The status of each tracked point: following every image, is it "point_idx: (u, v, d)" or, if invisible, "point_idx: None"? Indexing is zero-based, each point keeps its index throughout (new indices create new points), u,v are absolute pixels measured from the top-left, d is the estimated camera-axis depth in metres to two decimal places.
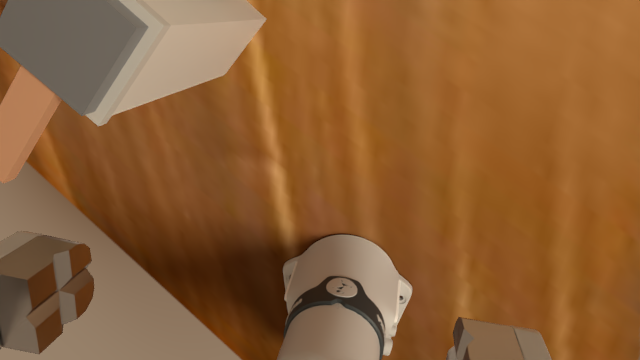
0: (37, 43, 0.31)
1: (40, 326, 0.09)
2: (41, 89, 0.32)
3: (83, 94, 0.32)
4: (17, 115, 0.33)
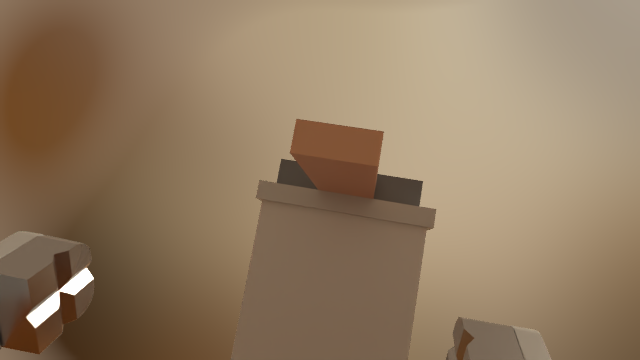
0: None
1: (40, 326, 0.09)
2: None
3: None
4: None
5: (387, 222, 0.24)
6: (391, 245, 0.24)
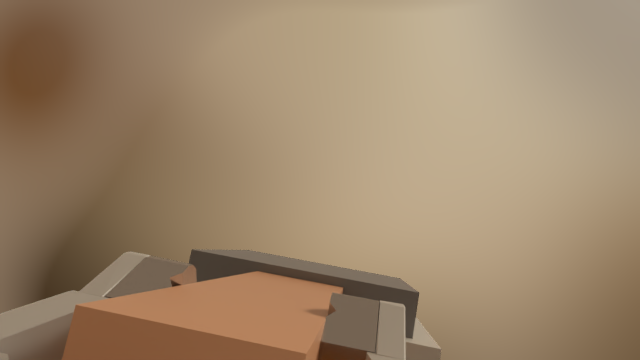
0: (283, 263, 0.18)
1: None
2: (313, 283, 0.15)
3: (395, 285, 0.16)
4: (277, 287, 0.12)
5: None
6: None
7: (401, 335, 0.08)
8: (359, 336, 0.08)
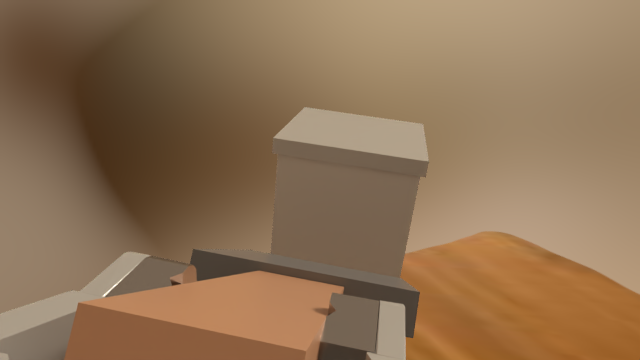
0: (284, 262, 0.18)
1: None
2: (314, 282, 0.15)
3: (396, 285, 0.16)
4: (278, 286, 0.12)
5: (386, 170, 0.28)
6: (390, 189, 0.28)
7: (401, 335, 0.08)
8: (359, 336, 0.08)
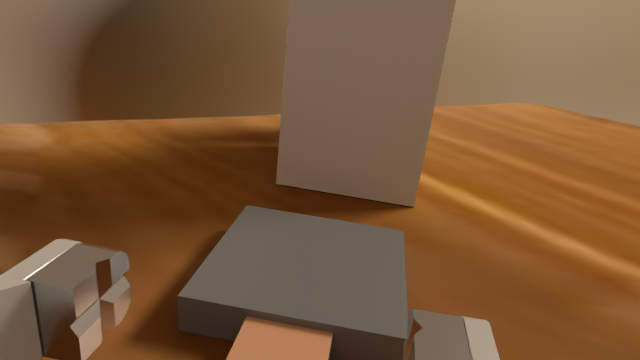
0: (275, 276, 0.17)
1: (83, 335, 0.09)
2: (301, 341, 0.14)
3: (389, 308, 0.16)
4: None
5: None
6: None
7: (494, 354, 0.08)
8: (452, 355, 0.08)
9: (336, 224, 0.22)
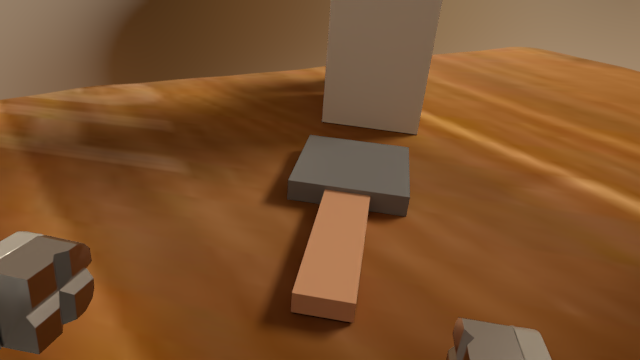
0: (336, 171, 0.31)
1: (40, 326, 0.09)
2: (354, 199, 0.29)
3: (399, 185, 0.30)
4: (339, 224, 0.26)
5: None
6: None
7: None
8: None
9: (367, 144, 0.36)
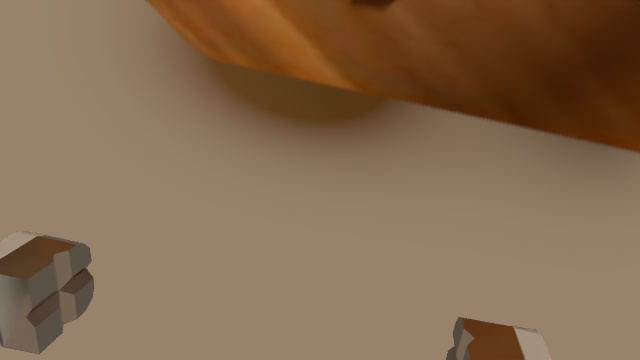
0: None
1: (40, 326, 0.09)
2: None
3: None
4: None
5: None
6: None
7: None
8: None
9: None
